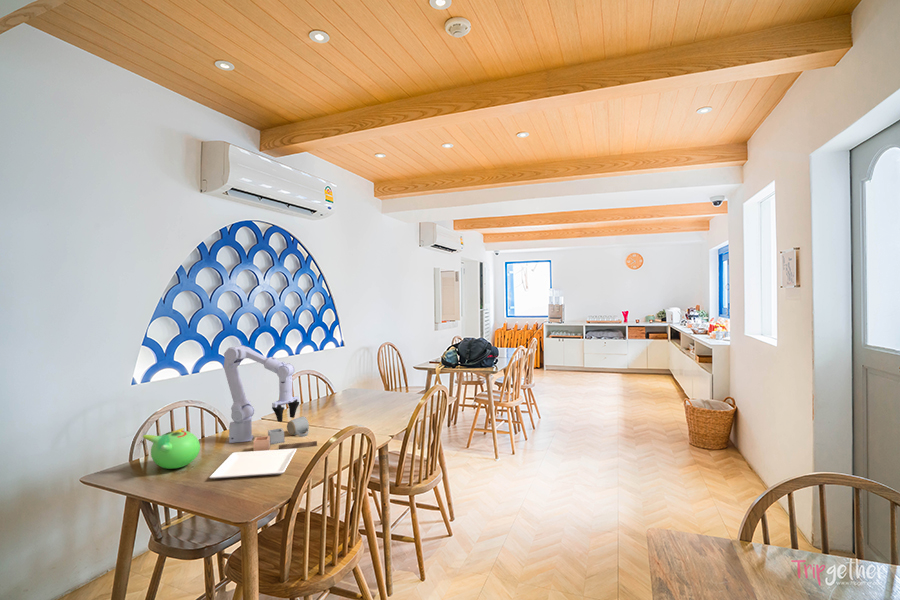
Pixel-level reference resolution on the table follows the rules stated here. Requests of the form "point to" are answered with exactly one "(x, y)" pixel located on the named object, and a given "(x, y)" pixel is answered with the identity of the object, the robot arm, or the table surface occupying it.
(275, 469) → the plate
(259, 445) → the terracotta pot
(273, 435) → the slate pot
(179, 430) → the green teapot
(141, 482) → the table surface
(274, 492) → the table surface
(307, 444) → the walnut strip
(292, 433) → the ceramic mug
